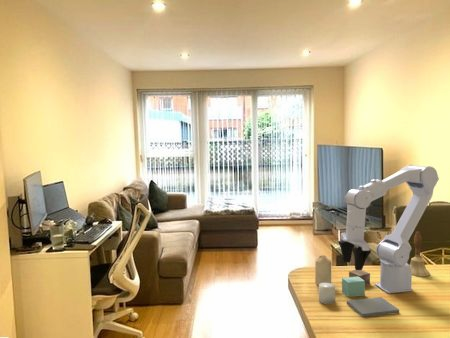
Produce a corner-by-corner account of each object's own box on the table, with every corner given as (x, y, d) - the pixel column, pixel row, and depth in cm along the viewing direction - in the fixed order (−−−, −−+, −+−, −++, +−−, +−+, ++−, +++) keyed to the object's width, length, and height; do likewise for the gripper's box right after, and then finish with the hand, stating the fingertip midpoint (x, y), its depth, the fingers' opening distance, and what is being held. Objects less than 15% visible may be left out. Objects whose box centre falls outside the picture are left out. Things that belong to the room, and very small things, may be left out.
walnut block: (359, 279, 136) (359, 268, 135) (369, 284, 131) (370, 273, 131) (348, 281, 133) (349, 271, 133) (359, 286, 129) (359, 275, 129)
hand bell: (401, 272, 141) (402, 232, 140) (410, 267, 147) (411, 228, 145) (425, 278, 135) (426, 236, 134) (433, 272, 141) (434, 231, 139)
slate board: (381, 300, 118) (381, 297, 118) (399, 312, 109) (399, 309, 109) (346, 303, 116) (346, 300, 116) (362, 317, 107) (362, 313, 107)
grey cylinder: (330, 296, 121) (330, 282, 121) (337, 303, 116) (337, 288, 116) (316, 298, 120) (316, 283, 120) (323, 304, 115) (323, 289, 115)
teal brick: (358, 290, 126) (358, 276, 125) (364, 295, 122) (364, 280, 121) (342, 292, 124) (342, 277, 124) (348, 297, 121) (348, 282, 120)
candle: (331, 287, 129) (332, 259, 128) (315, 286, 130) (315, 258, 129) (330, 281, 134) (330, 254, 133) (315, 280, 135) (315, 253, 134)
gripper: (333, 220, 128) (331, 259, 129) (356, 230, 114) (352, 273, 114) (352, 221, 129) (349, 258, 130) (376, 230, 115) (373, 273, 116)
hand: (352, 265), depth 122 cm, fingers open, 7 cm apart
